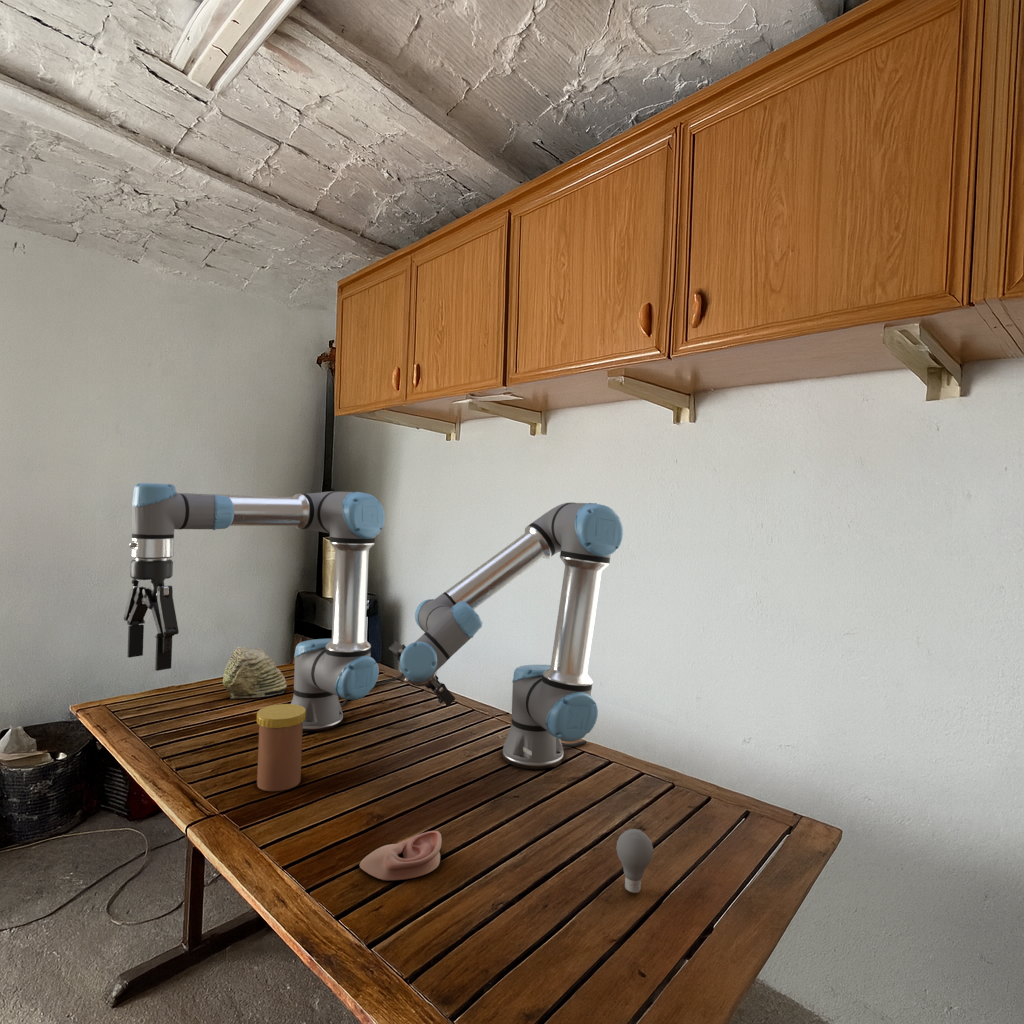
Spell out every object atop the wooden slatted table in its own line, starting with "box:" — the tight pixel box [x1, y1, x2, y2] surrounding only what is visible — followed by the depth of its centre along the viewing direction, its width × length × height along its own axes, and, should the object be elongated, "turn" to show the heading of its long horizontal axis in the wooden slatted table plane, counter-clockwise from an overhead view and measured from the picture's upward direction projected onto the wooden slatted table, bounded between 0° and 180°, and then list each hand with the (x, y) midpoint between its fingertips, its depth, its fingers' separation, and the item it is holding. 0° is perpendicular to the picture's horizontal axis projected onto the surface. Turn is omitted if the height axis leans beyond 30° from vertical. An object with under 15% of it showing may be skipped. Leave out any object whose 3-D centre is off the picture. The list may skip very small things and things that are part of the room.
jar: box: [256, 722, 304, 792], centre depth 140 cm, size 9×9×15 cm
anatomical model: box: [359, 830, 443, 882], centre depth 111 cm, size 13×4×12 cm
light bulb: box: [615, 828, 654, 894], centre depth 106 cm, size 6×6×10 cm
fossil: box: [222, 646, 288, 699], centre depth 198 cm, size 9×18×15 cm, turn 132°
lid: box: [255, 703, 306, 728], centre depth 140 cm, size 10×10×2 cm
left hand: (148, 662), depth 129 cm, fingers open, 13 cm apart
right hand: (422, 676), depth 161 cm, fingers open, 13 cm apart
